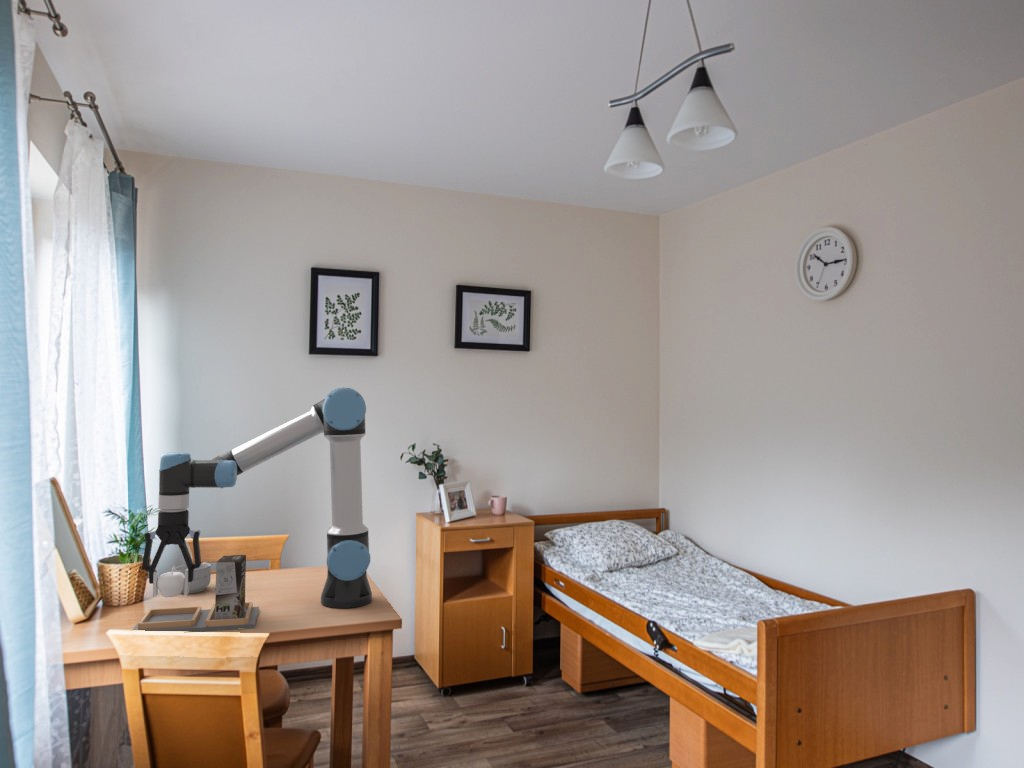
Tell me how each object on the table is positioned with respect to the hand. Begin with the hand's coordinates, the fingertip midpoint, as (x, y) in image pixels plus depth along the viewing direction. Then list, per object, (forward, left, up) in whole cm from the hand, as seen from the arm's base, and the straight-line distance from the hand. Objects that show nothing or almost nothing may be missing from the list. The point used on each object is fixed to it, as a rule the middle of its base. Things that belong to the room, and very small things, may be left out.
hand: (171, 594), depth 197 cm
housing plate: (-7, 0, -8) cm, 11 cm away
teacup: (-1, -36, -8) cm, 37 cm away
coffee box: (-15, 0, -7) cm, 17 cm away
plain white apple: (0, 0, 0) cm, 0 cm away
